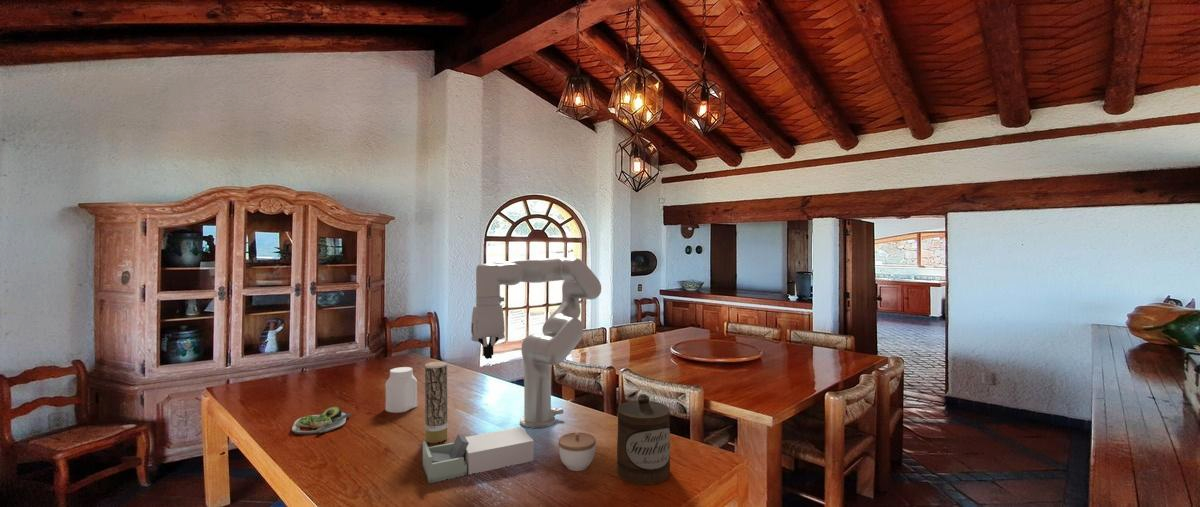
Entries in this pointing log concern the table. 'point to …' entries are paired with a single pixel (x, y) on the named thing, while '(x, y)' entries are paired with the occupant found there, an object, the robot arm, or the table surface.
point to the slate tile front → (439, 457)
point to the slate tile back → (459, 447)
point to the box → (442, 464)
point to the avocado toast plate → (321, 421)
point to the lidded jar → (577, 450)
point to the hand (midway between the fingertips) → (488, 357)
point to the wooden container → (643, 441)
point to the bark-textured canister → (436, 401)
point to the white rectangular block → (498, 450)
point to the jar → (401, 390)
